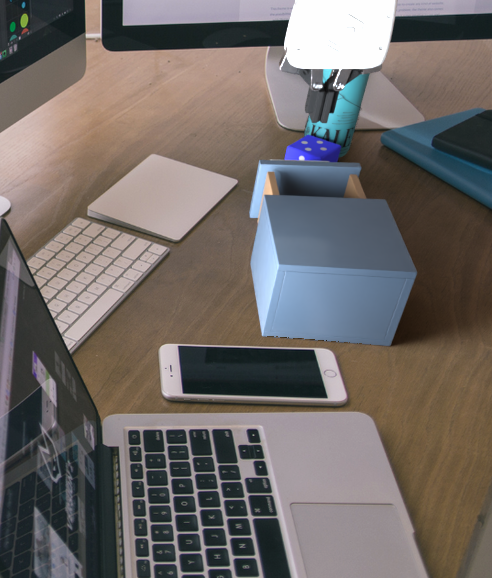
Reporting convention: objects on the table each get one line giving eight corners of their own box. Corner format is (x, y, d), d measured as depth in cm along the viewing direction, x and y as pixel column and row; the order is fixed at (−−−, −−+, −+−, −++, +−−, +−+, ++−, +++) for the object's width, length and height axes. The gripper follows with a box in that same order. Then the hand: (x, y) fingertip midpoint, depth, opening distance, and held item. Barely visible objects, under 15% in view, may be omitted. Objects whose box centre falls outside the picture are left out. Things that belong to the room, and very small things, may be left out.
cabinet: (250, 262, 94) (264, 194, 88) (363, 269, 91) (385, 199, 85) (261, 336, 83) (278, 264, 77) (390, 346, 81) (417, 272, 75)
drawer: (245, 193, 104) (255, 141, 100) (337, 197, 102) (351, 143, 97) (258, 269, 91) (270, 213, 86) (364, 276, 89) (382, 218, 84)
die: (313, 191, 105) (321, 158, 102) (279, 178, 108) (286, 146, 105) (333, 177, 107) (342, 145, 104) (300, 165, 111) (307, 133, 108)
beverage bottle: (322, 143, 115) (356, 7, 103) (358, 161, 110) (398, 21, 98) (288, 154, 113) (318, 17, 101) (322, 173, 108) (358, 32, 96)
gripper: (282, -31, 80) (254, 131, 91) (444, -35, 77) (393, 134, 88) (274, -51, 86) (248, 104, 97) (423, -55, 82) (378, 105, 94)
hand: (317, 117), depth 92 cm, fingers closed
